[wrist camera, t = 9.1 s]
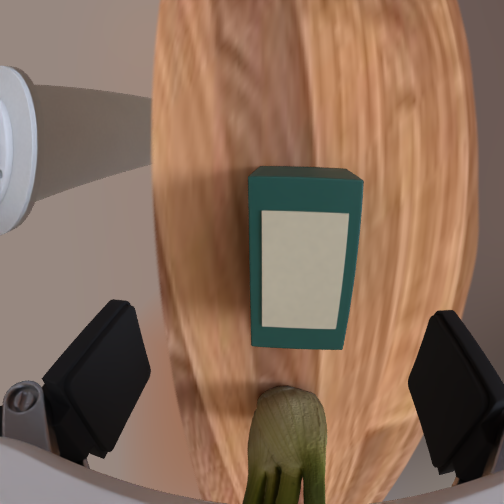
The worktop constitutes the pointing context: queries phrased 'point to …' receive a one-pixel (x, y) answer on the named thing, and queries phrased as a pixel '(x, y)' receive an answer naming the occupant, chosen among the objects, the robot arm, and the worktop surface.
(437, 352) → the robot arm
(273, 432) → the fennel bulb
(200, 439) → the worktop surface
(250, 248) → the tea packet
